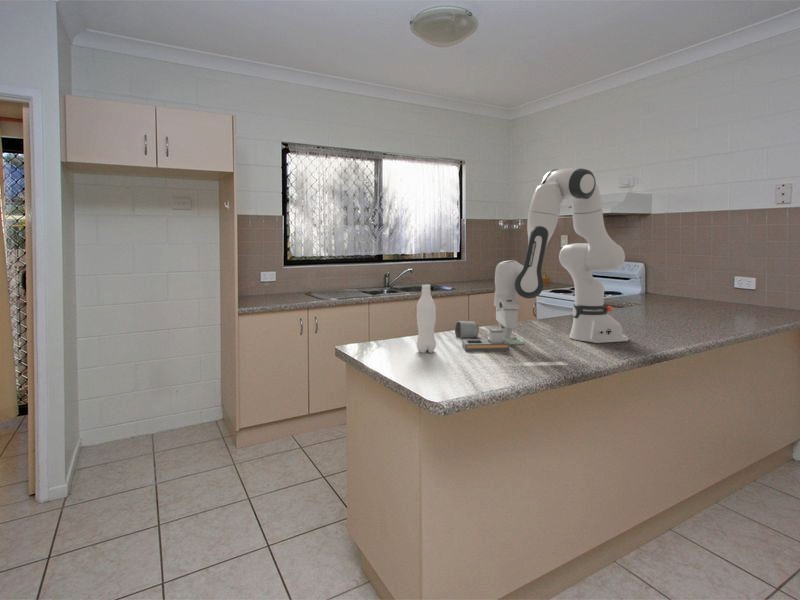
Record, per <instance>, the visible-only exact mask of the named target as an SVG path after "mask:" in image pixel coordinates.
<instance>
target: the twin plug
mask: <svg viewBox="0 0 800 600" xmlns="http://www.w3.org/2000/svg"><path fill="white" fill-rule="evenodd" d="M489 337H490V343H503V330H502V329H499V328H489Z"/></svg>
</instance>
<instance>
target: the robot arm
mask: <svg viewBox="0 0 800 600" xmlns="http://www.w3.org/2000/svg"><path fill="white" fill-rule="evenodd" d="M596 181H597V180H596V177H595V175H594V173H593V172H592V171H591V170H589V169H586V168H575V167H567V168H566V167H565V168H561V169H558V168H556V169H552V170H548V171H547V172H546V173H545V174H544V175H543V178H542V180H541V183H540V184H539V185H538V186H537V187H536V189H535V190H534V192H533V195H532V198H531V201H530V204H529V209H528V214H527V223H526V225H527V227H526V228H527V239H528V240H527V241H528V243H527V249H526V255H525V259H524V265H523V264H521V263H519V262H518V261H517V260H516V259H510V260H509V259H508V260H503V261H500V262H499V263H497V265H496V266H495V273H494V285H495V290H494V307H496V308H495V309H496V310H495V319H496V322H497V323H499V325H502V326H504V327H505V328H506V334H505V338H506V339H510V338H511V332H512V333H513V330H516V329H517V325H518V315H519V313H518V312H519V311H518V310H520V303H519V300H518V295H519V296H520V297H522V298H524V299H535V298H537V297H538V296H539V295H541V293H543V289H544V280H543V276H542V268H543V264H544V263H543V262H544V258H545V253H546V249H547V247H548V243H549V241H550V240H551V238H552V236H553V234H554V232H555V230H556V227H557V224H558V222H559V221H558V220H559V217H560V211H561V207H562V206H561V204H562V203H563V201H564V200H565V199H570V200H571V211H572V212H571V213H572V225H573V230H574V232H575V233H576V234H577V235H579V236H580V237H581V238H584V239H585V241H586V242H585V243H583V242H581V243H580V242H579V243H578V242H577V243H576V242H575V243H570V244H566V245H563V247H562V248H561V249H560V251H559V253H558V258H559V259H558V261H559V263H560V265H561V267H563V268H564V269H565V270H567V272H568V274H569V275H570V277H571V278H572V281H573V285H574V303H573V306H572V307H573V308H572V316H573V318H572V326H571V330H570V334H569V338H570V339H572V340H575V341H582V342H589V343H595V344H602V343H603V344H605V343H616V342H617V343H618V342H629V337H628V336H627V335H625V334H623V327H622V325H621V323H620V322H618V320H616V319H614V317H612V316H611V315H610V314H609V313H608V312H611V313H612V311H613V307H612V306H609V305H608V306H607V305H606V304H604V301H605V299H604V297H605V287H604V285H603V283H602V282H601V281H599V280H597V279H596V278H594V276H593V274H592V271H594V272H595V271H596V272H597V271H599V272H609V271H617V270H619V269H620V268H621V267H623V264H624V262H625V260H626V255H625V254H626V253H625V251H624V249H623V248H622V246H621V245H620V244H617V243H616V241H614V240H613V239H612V238H611V237H610V235H609V234H608V232H607V229H606V227H605V221H604V214H603V213H604V212H603V203H602V196H601V192H600V189H599V186H598V184H597V183H596Z"/></svg>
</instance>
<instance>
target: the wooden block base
mask: <svg viewBox="0 0 800 600" xmlns="http://www.w3.org/2000/svg"><path fill="white" fill-rule="evenodd" d="M461 342H462V343H461V344H462V345H461V347H462V349H464V351H465V352H496V351H497V352H502V351H503V352H504V351H508V352H509V351H510V344H509V343H508V342H507V341H506V340H505V339H503V343H490V339H488V338H486V339H485V338H484V339H483V338H482V339H462V340H461Z"/></svg>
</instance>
